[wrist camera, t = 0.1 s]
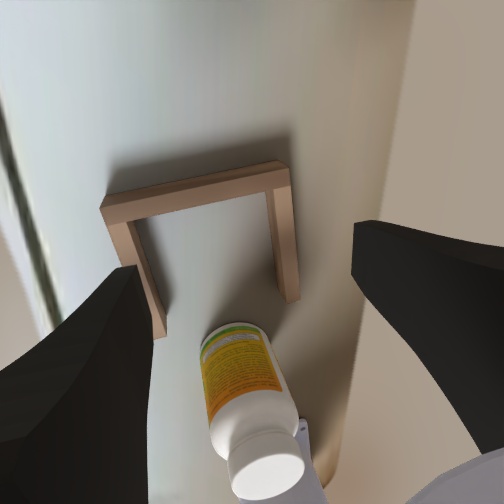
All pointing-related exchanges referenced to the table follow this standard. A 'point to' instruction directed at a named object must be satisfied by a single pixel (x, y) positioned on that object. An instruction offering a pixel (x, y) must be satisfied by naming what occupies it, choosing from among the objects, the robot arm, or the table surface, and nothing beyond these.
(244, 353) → the supplement bottle
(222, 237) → the table surface
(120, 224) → the bay
